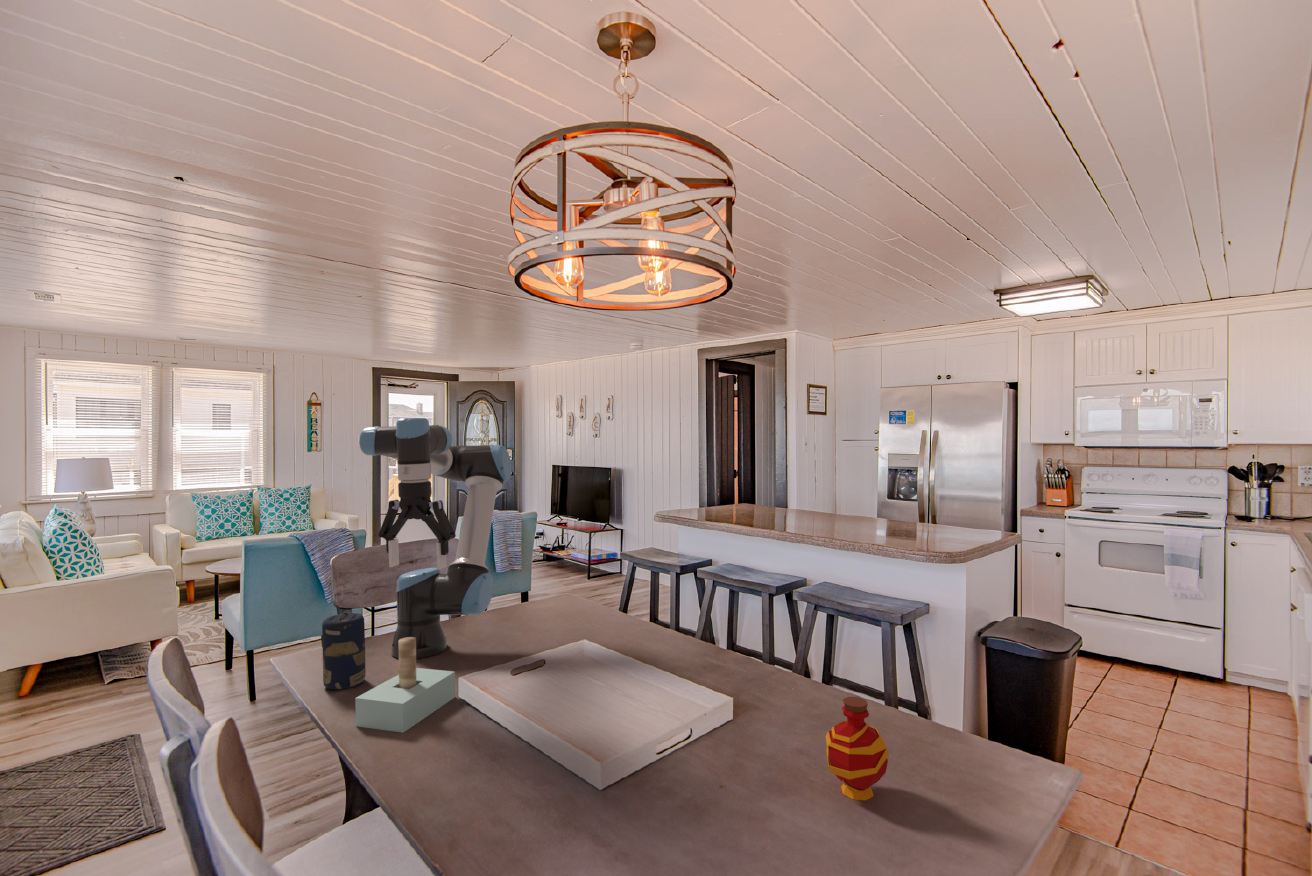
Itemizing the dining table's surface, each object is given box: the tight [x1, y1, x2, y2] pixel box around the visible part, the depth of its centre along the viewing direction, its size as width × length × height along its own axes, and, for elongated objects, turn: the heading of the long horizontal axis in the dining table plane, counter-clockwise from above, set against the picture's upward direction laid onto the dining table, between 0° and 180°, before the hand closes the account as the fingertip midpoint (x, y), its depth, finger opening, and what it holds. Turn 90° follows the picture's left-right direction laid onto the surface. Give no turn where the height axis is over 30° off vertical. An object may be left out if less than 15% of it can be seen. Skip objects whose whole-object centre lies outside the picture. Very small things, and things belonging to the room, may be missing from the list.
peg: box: [398, 637, 417, 689], centre depth 135 cm, size 4×4×16 cm
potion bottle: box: [825, 696, 889, 801], centre depth 101 cm, size 10×10×15 cm
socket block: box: [354, 667, 456, 734], centre depth 135 cm, size 18×12×6 cm, turn 164°
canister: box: [321, 611, 367, 690], centre depth 151 cm, size 10×10×18 cm
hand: (417, 567), depth 148 cm, fingers open, 13 cm apart
